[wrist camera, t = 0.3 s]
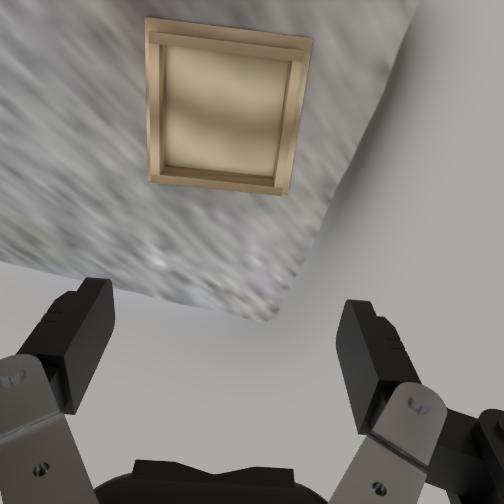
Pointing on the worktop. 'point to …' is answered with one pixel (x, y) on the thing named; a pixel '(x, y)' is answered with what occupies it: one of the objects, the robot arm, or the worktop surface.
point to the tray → (223, 105)
